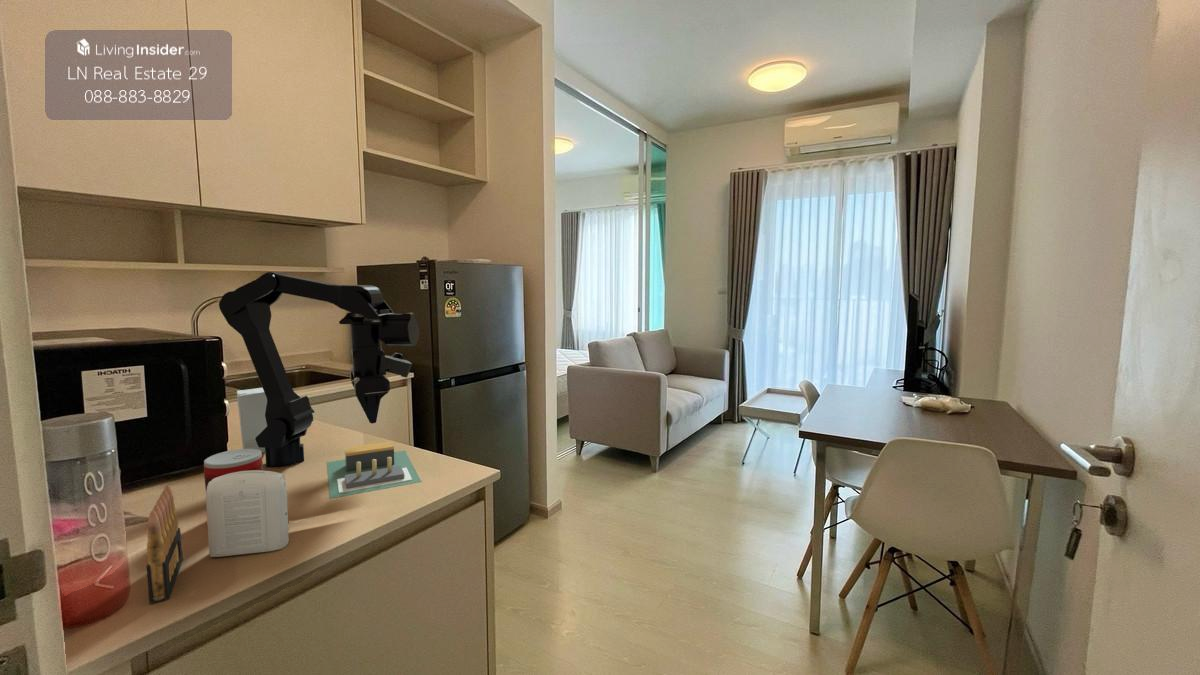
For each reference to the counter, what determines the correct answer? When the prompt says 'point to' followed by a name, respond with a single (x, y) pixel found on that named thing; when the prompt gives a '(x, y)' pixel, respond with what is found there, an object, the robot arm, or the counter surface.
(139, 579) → the counter surface
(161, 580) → the ammunition clip
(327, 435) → the counter surface
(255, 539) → the photo printer
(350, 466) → the yellow and grey block
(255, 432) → the skincare box
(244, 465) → the canned food
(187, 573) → the counter surface
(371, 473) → the board
